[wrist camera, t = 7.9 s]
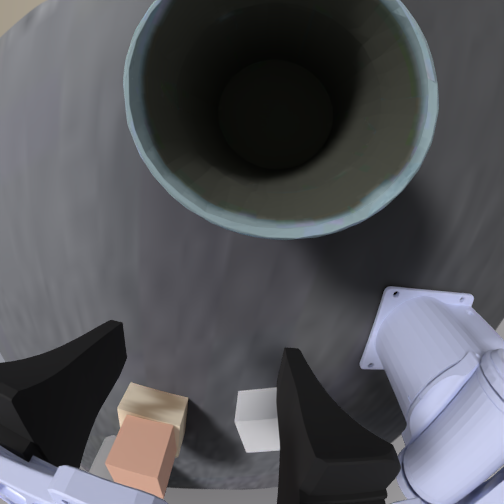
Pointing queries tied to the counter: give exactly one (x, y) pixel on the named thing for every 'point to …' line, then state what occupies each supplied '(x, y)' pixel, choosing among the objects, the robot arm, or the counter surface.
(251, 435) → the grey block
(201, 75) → the teal round container
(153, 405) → the oak base block
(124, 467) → the terracotta block
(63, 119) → the counter surface
